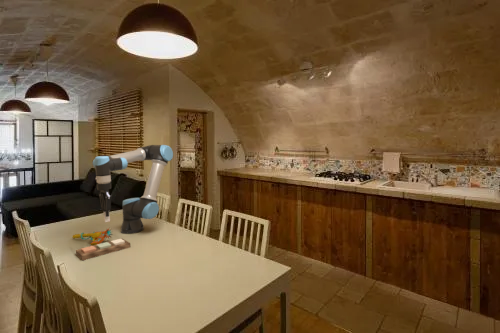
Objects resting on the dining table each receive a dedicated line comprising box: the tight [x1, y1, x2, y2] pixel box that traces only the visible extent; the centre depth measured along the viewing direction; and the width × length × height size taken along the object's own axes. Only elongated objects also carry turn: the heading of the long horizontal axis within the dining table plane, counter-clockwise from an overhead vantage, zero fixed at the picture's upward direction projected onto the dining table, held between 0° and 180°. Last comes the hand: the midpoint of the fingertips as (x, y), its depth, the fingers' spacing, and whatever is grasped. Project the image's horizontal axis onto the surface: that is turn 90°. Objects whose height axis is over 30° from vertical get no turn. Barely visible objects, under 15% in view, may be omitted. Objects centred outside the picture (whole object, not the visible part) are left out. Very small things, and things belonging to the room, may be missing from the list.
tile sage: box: [96, 241, 111, 249], centre depth 165 cm, size 6×6×2 cm
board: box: [75, 238, 131, 261], centre depth 165 cm, size 26×12×3 cm, turn 136°
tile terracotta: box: [80, 245, 96, 254], centre depth 159 cm, size 6×6×2 cm
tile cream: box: [110, 238, 125, 246], centre depth 171 cm, size 6×6×2 cm
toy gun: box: [72, 227, 114, 246], centre depth 177 cm, size 8×27×15 cm
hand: (107, 221), depth 168 cm, fingers closed
